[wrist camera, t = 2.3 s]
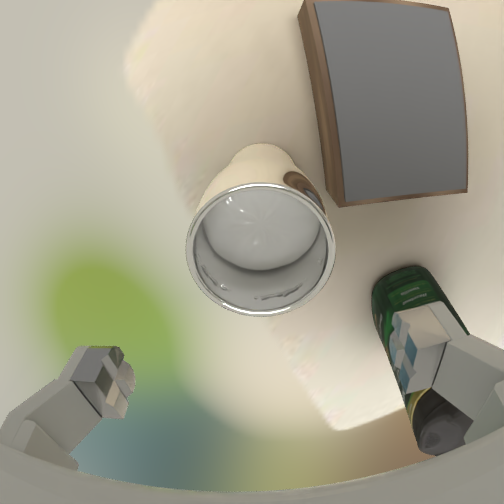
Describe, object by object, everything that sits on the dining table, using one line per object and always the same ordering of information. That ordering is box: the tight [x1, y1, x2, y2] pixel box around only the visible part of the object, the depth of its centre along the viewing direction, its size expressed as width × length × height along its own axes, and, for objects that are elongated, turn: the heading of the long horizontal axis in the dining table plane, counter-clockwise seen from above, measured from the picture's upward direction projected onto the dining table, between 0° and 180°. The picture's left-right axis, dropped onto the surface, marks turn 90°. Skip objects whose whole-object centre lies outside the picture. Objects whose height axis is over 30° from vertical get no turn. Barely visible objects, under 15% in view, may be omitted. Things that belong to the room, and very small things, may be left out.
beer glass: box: [186, 143, 336, 317], centre depth 20 cm, size 7×7×15 cm
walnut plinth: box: [298, 0, 468, 207], centre depth 20 cm, size 12×16×5 cm
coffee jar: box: [372, 266, 474, 456], centre depth 24 cm, size 10×8×19 cm
